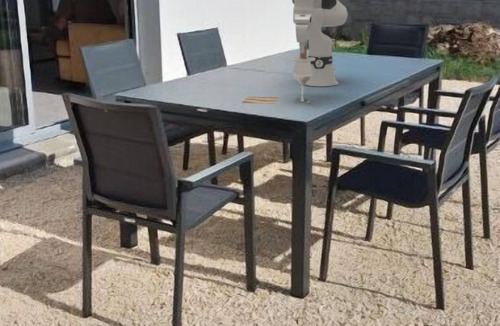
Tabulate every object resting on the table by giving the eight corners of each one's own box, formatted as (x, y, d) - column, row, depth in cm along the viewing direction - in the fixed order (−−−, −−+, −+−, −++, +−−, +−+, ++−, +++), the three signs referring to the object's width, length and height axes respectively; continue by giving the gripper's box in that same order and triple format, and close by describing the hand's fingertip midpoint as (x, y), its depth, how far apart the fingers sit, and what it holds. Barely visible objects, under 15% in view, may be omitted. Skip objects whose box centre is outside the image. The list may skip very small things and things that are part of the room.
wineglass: (291, 100, 279) (292, 58, 274) (310, 100, 279) (311, 58, 274) (294, 104, 271) (294, 61, 266) (313, 103, 271) (314, 61, 266)
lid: (292, 58, 275) (292, 47, 274) (315, 58, 274) (315, 47, 273) (290, 61, 266) (290, 49, 265) (314, 61, 265) (314, 50, 263)
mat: (247, 97, 285) (247, 96, 285) (278, 98, 283) (278, 97, 282) (241, 104, 272) (241, 102, 272) (274, 105, 269) (274, 103, 269)
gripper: (298, 16, 275) (298, 48, 279) (293, 19, 256) (293, 54, 260) (313, 16, 274) (312, 48, 278) (309, 19, 255) (308, 54, 259)
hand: (303, 51), depth 269 cm, fingers open, 8 cm apart
